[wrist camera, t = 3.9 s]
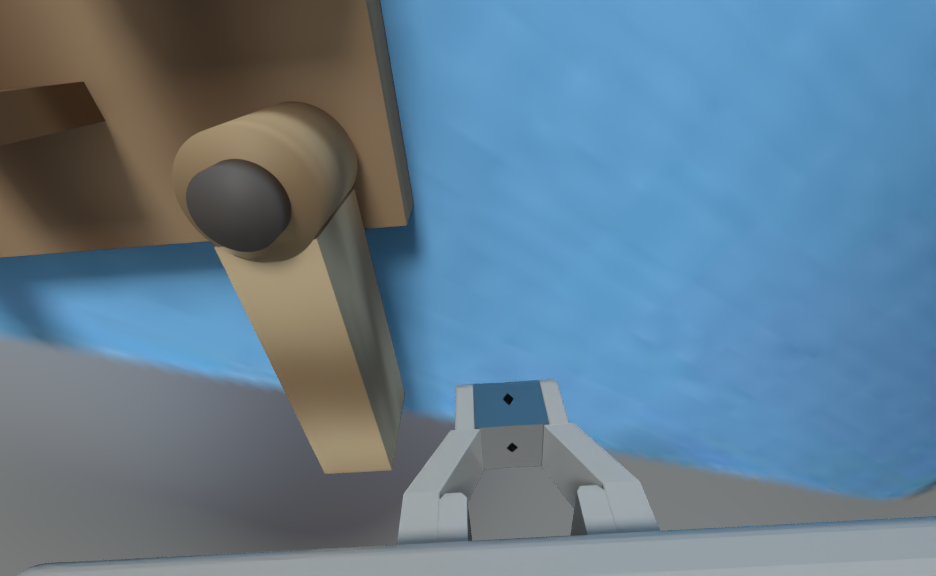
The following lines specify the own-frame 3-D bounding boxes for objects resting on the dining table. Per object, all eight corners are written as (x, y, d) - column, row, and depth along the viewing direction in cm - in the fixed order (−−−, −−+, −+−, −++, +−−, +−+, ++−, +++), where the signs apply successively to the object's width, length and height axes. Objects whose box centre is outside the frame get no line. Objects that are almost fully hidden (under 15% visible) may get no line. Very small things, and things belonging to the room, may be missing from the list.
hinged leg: (233, 106, 11) (119, 141, 7) (342, 96, 10) (281, 126, 7) (342, 397, 17) (311, 490, 13) (412, 393, 17) (397, 486, 13)
